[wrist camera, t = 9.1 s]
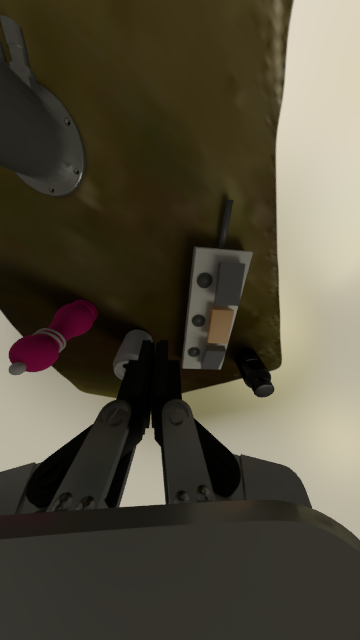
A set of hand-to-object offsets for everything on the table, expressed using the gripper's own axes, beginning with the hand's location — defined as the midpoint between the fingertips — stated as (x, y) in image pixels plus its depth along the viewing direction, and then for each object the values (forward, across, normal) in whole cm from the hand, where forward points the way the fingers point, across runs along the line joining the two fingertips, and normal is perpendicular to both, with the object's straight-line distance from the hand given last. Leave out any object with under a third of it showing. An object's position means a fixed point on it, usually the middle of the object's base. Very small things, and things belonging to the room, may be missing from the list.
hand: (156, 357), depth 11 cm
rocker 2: (+21, -12, +10) cm, 27 cm away
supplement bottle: (+27, -25, +25) cm, 44 cm away
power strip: (+27, -11, +10) cm, 31 cm away
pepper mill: (+28, +20, +11) cm, 36 cm away
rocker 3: (+21, -12, +20) cm, 32 cm away
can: (+28, +7, +19) cm, 35 cm away
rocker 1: (+22, -13, +1) cm, 25 cm away
